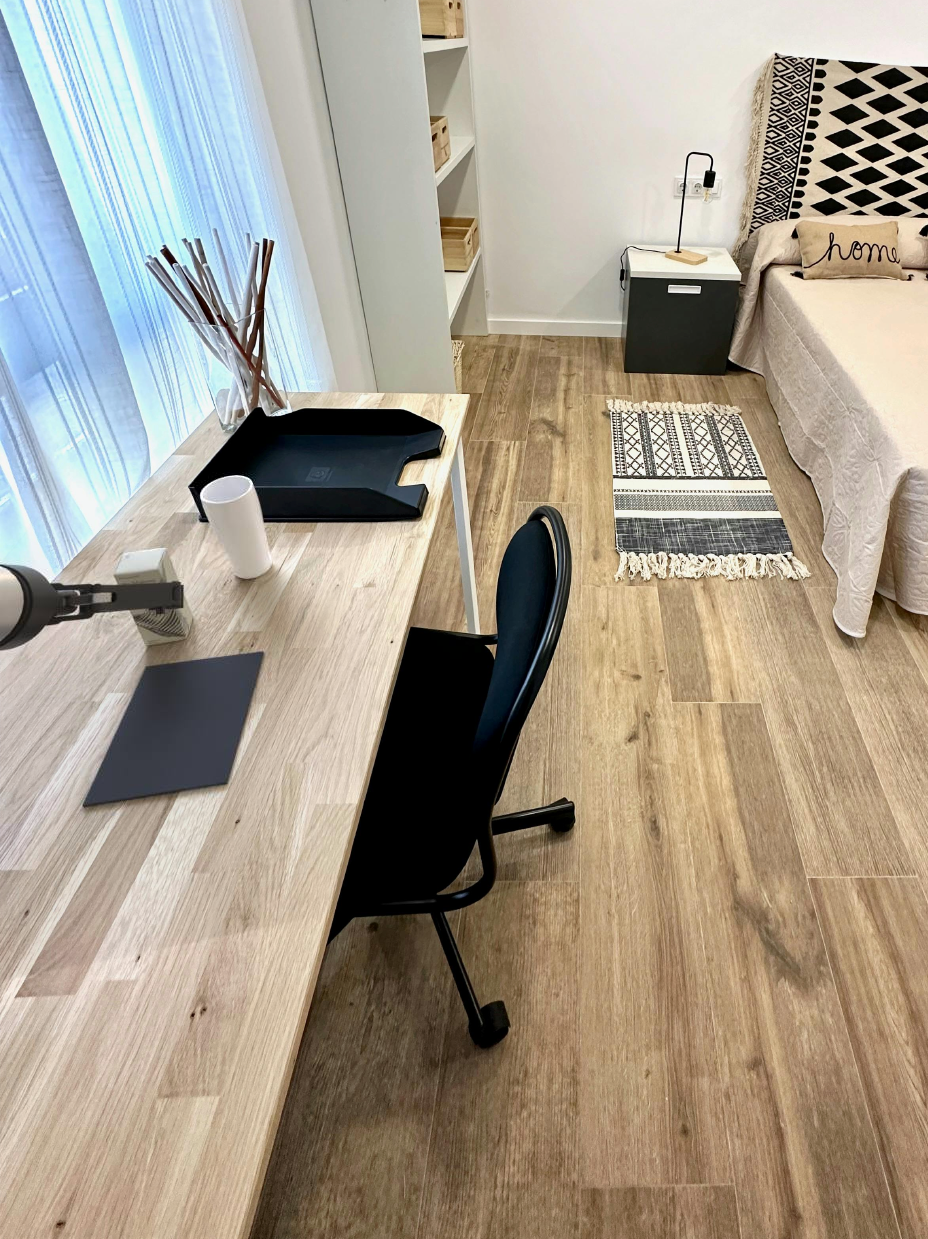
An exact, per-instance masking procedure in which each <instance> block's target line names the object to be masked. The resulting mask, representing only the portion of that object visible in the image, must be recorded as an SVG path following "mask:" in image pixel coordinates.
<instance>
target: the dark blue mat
mask: <svg viewBox="0 0 928 1239" xmlns="http://www.w3.org/2000/svg"><path fill="white" fill-rule="evenodd" d="M264 655H265V652H264V650H262V651H261V650H260V651H253V652H246V653H238V654H237V653H236V654H231V655H223V656H215V657H208V658H207V657H206V658H200V659H192V660H183V661H177V662H176V661H175V662H169V663H168V662H167V663H161V664H153V665H146V666H145V668H144V670H143V672H142V675H141V676H140V679H139V681H138V683H137V685H136V687H135V689H134V692H133V694H132V696H131V699H130V700H129V702H128V705H127V707H126V709H125V712H124V713H123V716H122V718H121V720H120V723H119V725H118V726H117V729H116V731H115V733H114V736H113V738H112V739H111V742H110V744H109V746H108V749H107V751H106V754H105V755H104V757H103V759H102V762H101V763H100V766H99V768H98V770H97V772H96V775H95V776H94V779H93V781H92V783H91V786H90V788H89V790H88V792H87V795H86V797H85V799H84V801H83V803H82V807H83V808H87V807H94V806H100V805H101V806H102V805H106V804H113V803H118V802H125V801H132V800H137V799H143V798H151V797H155V796H161V795H162V796H163V795H168V794H175V793H180V792H186V791H187V792H188V791H193V790H200V789H205V788H212V787H218V786H225V785H228V783H229V780H230V776H231V773H232V769H233V765H234V761H235V758H236V754H237V751H238V747H239V744H240V740H241V736H242V733H243V729H244V726H245V723H246V719H247V715H248V711H249V708H250V704H251V701H252V698H253V694H254V690H255V687H256V684H257V680H258V676H259V673H260V669H261V665H262V661H263V659H264Z"/></svg>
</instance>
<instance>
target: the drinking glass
mask: <svg viewBox="0 0 928 1239" xmlns="http://www.w3.org/2000/svg"><path fill="white" fill-rule="evenodd" d="M255 488H256V487H255V486H254V483H253V481H252V480H251V479H250V478H249V477H247V476H243V475H229V476H228V475H227V476H224V477H220V478H217V479H215V480H213V481H211V482H210V483H208V484H207V485H205V486H204V487H203V488H202V489H201V492H200V494H199V497H200V500H201V505H202V508H203V511H204V513H205V516H206V518H207V520H208V523H209V525H210V528H212V530H213V532H214V535H215V536H216V538H217V541H218V542H219V544H220V546H221V548H222V550H223V552H224V554H225V555H226V556H225V557H226V558H227V559H228V561H229V564H230V566H231V569H232V570H233V573H234V575H235V576H236V577H237V578H239V579H244V580H251V579H256V578H258V577H260V576H263V575H264V574H266V573H267V572H268V571H269V570H270V568H271V567H272V565H273V557H272V554H271V551H270V547H269V542H268V537H267V533H266V527H265V523H264V518H263V517H264V516H263V511H262V507H261V503H260V499H259V496H258V494H257V490H256V489H255Z"/></svg>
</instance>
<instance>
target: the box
mask: <svg viewBox="0 0 928 1239" xmlns="http://www.w3.org/2000/svg"><path fill="white" fill-rule="evenodd" d="M113 577H114V579H115V582H116V585H122V584H144V583H167V582H172V581H177V582H179V581H180V580H179V578H178V574H177V572H176V570H175V567H174V565H173V562H172V559H171V557H170V554H169V550H168V548H167V547H157V548H150V549H142V550H137V551H130V552H123V553H122V555H121V556H120V559H119V560H118V562H117V564H116V567H115V570H114V571H113ZM129 612H130V615H131V616H132V618H133V621H134V623H135V625H136V627H137V629H138V632H139V633H140V636H141V639H142V641H143V643H144V645H145V646H151V645H154V646H155V645H160V644H166V643H167V644H168V643H172V642H177V641H183V640H186V639H187V638H188V636H189V633H190V631H191V630H190V629H191V627H192V623H193V618H194V616H193V613H192V611H191V609H190V605H189V603H188V600H187V598H186V596H185V594H184V607H183V608H179V609H165V614H161V615H156V610H149V609H138V610H129Z"/></svg>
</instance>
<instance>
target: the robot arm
mask: <svg viewBox="0 0 928 1239" xmlns="http://www.w3.org/2000/svg"><path fill="white" fill-rule="evenodd" d="M78 593H79V594H78ZM184 595H185V586H184V584H182V581H180V580H179V582H177V581H172V582H167V583H144V584H122V585H118V584H101V583H94V584H92V583H79V584H63V583H61V582H50V581H49V580H48V579H47V578H46V576H44V574H42V573H41V572H39V571H38V570H36V569H35V568H32V567H29V566H26V565H19V564H5V563H4V564H3V563H0V652H2V651H8V650H12V649H15V648H18V647H21V646H23V645H26V644H28V643H29V642H30V641H32V640H34V638H36V637H37V636H38V635H39V634H40V633H42V631H43V630H44V628H45V627H50V626H55V625H59V624H60V623H63V622H74V621H84V620H88V619H91V618H92V617H94V615H95V614H105V613H116V612H128V611H130V610H138V609H149V610H156V615H161V614H165V609H179V608H183V607H184ZM78 607H79V608H78ZM77 610H78V613H77V614H73V613H75V612H77Z"/></svg>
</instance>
